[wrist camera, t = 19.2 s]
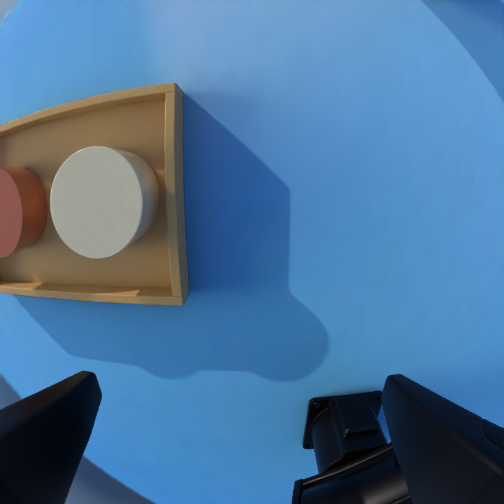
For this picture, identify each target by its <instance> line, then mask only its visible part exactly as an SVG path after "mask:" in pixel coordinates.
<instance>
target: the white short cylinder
mask: <svg viewBox="0 0 504 504" xmlns="http://www.w3.org/2000/svg"><path fill="white" fill-rule="evenodd" d="M159 202H160V194H159V187H158V182H157V180H156V177H155V175H154V173H153V171H152V169H151V168H150V166H149V165H148V164H147V163H146V161H145V160H144V159H142V158H141V157H140V156H138V155H137V154H135V153H133V152H131V151H128V150H124V149H117V148H111V147H104V146H91V147H87V148H83V149H81V150H79V151H77V152H75V153H74V154H73V155H71V156H70V157H69V158H68V159H67V160H66V161H65V162H64V163H63V164H62V166H61V167H60V169H59V170H58V172H57V174H56V176H55V179H54V182H53V185H52V189H51V197H50V208H51V215H52V219H53V223H54V225H55V228H56V230H57V232H58V234H59V236H60V237H61V239H62V240H63V241H64V243H65V244H66V245H67V246H68V247H69V248H70V249H72V250H73V251H74V252H76V253H78V254H80V255H82V256H84V257H87V258H92V259H104V258H109V257H112V256H114V255H116V254H118V253H120V252H121V251H123V250H124V249H126V248H128V247H129V246H131V245H133V244H134V243H136V242H137V241H139V240H140V239H142V238H143V237H144V236H145V235H146V234H147V233H148V231H149V230H150V229H151V227H152V225H153V224H154V222H155V219H156V217H157V213H158V210H159Z"/></svg>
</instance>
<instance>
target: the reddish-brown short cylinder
mask: <svg viewBox="0 0 504 504" xmlns="http://www.w3.org/2000/svg"><path fill="white" fill-rule="evenodd" d="M47 215H48V204H47V197H46V192H45V189H44V186H43V184H42V182H41V180H40V178H39V177H38V176H37V174H36V173H35V172H34V171H32V170H31V169H29V168H27V167H21V166H20V167H1V168H0V258H6V257H8V256H11V255H13V254H15V253H18V252H20V251H22V250H25V249H27V248H30V247H32V246H33V245H35V244H36V243H37V242H38V241H39V239H40V238H41V236H42V234H43V232H44V229H45V227H46V222H47Z"/></svg>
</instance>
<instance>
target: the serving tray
mask: <svg viewBox="0 0 504 504" xmlns="http://www.w3.org/2000/svg"><path fill="white" fill-rule="evenodd" d="M183 96H184V92H183V91H182V90H181V88H180V87H179V86H178V85H177V84H176V83H168V84H160V85H153V86H146V87H140V88H133V89H128V90H122V91H117V92H112V93H107V94H102V95H98V96H93V97H89V98H85V99H81V100H77V101H73V102H69V103H65V104H62V105H58V106H55V107H51V108H48V109H45V110H42V111H38V112H35V113H32V114H29V115H26V116H24V117H21V118H18V119H15V120H13V121H10V122H7V123H5V124H2V125H0V168H1V167H20V166H21V167H27V168H29V169H31V170H32V171H34V172H35V173H36V174H37V176H38V177H39V178H40V180H41V182H42V184H43V186H44V189H45V192H46V197H47V204H48V215H47V222H46V227H45V229H44V232H43V234H42V236H41V238H40V239H39V241H38V242H37V243H36V244H35V245H33V246H32V247H30V248H27V249H25V250H22V251H20V252H18V253H15V254H13V255H11V256H8V257H6V258H0V293H6V294H15V295H24V296H34V297H44V298H55V299H66V300H79V301H93V302H108V303H126V304H147V305H175V306H183V304H184V302H185V300H186V299H187V297H188V295H189V281H188V268H187V252H186V234H185V212H184V181H183ZM91 146H104V147H111V148H117V149H124V150H128V151H131V152H133V153H135V154H137V155H138V156H140V157H141V158H142V159H144V160H145V161H146V163H147V164H148V165H149V166H150V168H151V169H152V171H153V173H154V175H155V177H156V180H157V182H158V187H159V194H160V202H159V210H158V213H157V217H156V219H155V222H154V224H153V225H152V227H151V229H150V230H149V231H148V233H147V234H146V235H145V236H144V237H143V238H142V239H140V240H139V241H137V242H136V243H134V244H133V245H131V246H129V247H128V248H126V249H124V250H123V251H121V252H120V253H118V254H116V255H114V256H112V257H109V258H104V259H92V258H87V257H84V256H82V255H80V254H78V253H76V252H74V251H73V250H72V249H70V248H69V247H68V246H67V245H66V244H65V243H64V241H63V240H62V239H61V237H60V236H59V234H58V232H57V230H56V228H55V225H54V223H53V219H52V215H51V208H50V197H51V189H52V185H53V182H54V179H55V176H56V174H57V172H58V170H59V169H60V167H61V166H62V164H63V163H64V162H65V161H66V160H67V159H68V158H69V157H70V156H71V155H73V154H74V153H75V152H77V151H79V150H81V149H83V148H87V147H91Z"/></svg>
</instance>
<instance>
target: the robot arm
mask: <svg viewBox="0 0 504 504" xmlns="http://www.w3.org/2000/svg"><path fill="white" fill-rule="evenodd" d="M101 399H102V393H101V389H100V386H99V383H98V380H97V377H96V375H95V374H94V373H93V372H89V371H81V372H79V373H77V374H75V375H73V376H71V377H69V378H66V379H64V380H62V381H60V382H58V383H56V384H54V385H52V386H50V387H48V388H46V389H43V390H41V391H39V392H37V393H35V394H33V395H31V396H29V397H26V398H24V399H22V400H20V401H18V402H16V403H14V404H11V405H9V406H7V407H5V408H3V409H2V410H0V504H65V501H66V498H67V495H68V492H69V489H70V487H71V484H72V482H73V479H74V476H75V474H76V471H77V468H78V466H79V463H80V460H81V458H82V456H83V453H84V451H85V448H86V446H87V443H88V441H89V438H90V436H91V432H92V429H93V426H94V422H95V419H96V415H97V412H98V409H99V405H100V402H101ZM314 403H317V404H314ZM381 405H382V406H383V410H384V414H385V418H386V422H387V426H388V430H389V435H390V438H391V442H390V443H387V441H386V438H385V436H384V434H383V432H382V429H381V427H380V424H379V421H378V419H377V417H378V414H379V411H380V408H381ZM303 448H304V449H314V451H315V456H316V461H317V467H318V472H319V474H317V475H315V476H312V477H309V478H306V479H300V480H297V481H295V484H294V490H293V497H292V504H504V428H502V427H500V426H498V425H496V424H494V423H492V422H490V421H488V420H486V419H482V417H480V416H478V415H476V414H474V413H472V412H470V411H468V410H466V409H464V408H463V407H461V406H459V405H457V404H455V403H453V402H451V401H449V400H447V399H446V398H444V397H442V396H440V395H438V394H436V393H434V392H433V391H431V390H429V389H427V388H425V387H423V386H422V385H420V384H418V383H416V382H414V381H412V380H411V379H409V378H407V377H405V376H403V375H401V374H395V375H389V376H388V377H387V379H386V382H385V386H384V389H383V392H382V391H374V392H366V393H359V394H350V395H341V396H330V397H318V398H313V399H311V400H310V401H309V404H308V411H307V418H306V425H305V431H304V438H303Z"/></svg>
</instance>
